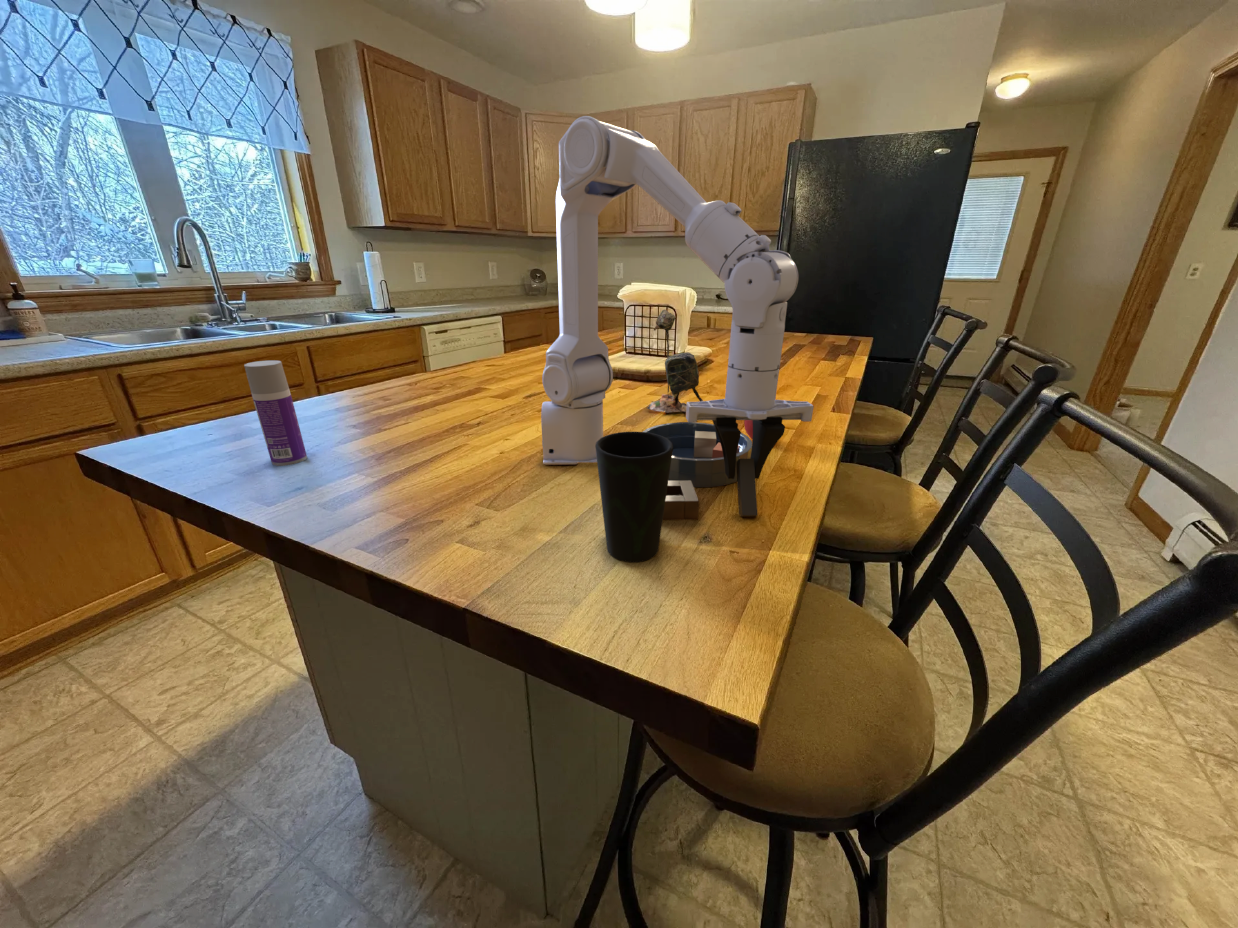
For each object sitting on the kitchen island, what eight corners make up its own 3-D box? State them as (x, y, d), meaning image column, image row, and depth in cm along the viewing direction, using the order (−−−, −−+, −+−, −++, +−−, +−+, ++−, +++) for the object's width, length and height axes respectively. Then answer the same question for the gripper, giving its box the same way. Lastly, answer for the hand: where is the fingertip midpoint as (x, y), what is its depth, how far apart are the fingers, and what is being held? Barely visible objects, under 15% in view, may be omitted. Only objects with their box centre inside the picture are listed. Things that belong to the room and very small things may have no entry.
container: (314, 457, 77) (289, 361, 71) (284, 468, 73) (256, 367, 68) (294, 452, 79) (269, 359, 73) (264, 463, 75) (235, 364, 69)
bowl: (641, 491, 66) (641, 460, 64) (635, 448, 81) (635, 422, 79) (762, 490, 66) (766, 460, 65) (734, 447, 81) (736, 421, 80)
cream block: (693, 457, 76) (695, 437, 75) (693, 449, 79) (695, 430, 78) (714, 458, 75) (716, 438, 74) (714, 450, 78) (715, 431, 77)
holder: (648, 524, 58) (649, 501, 57) (645, 501, 63) (645, 480, 62) (697, 523, 58) (699, 501, 57) (689, 501, 63) (691, 480, 62)
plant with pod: (691, 419, 95) (698, 312, 88) (640, 411, 101) (642, 309, 93) (707, 409, 102) (715, 309, 94) (658, 401, 107) (662, 306, 100)
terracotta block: (711, 469, 71) (712, 449, 70) (716, 462, 74) (718, 442, 73) (732, 473, 70) (735, 452, 69) (737, 465, 73) (740, 445, 72)
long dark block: (742, 515, 58) (739, 458, 59) (739, 518, 59) (735, 462, 61) (757, 515, 58) (754, 458, 59) (753, 518, 59) (750, 462, 61)
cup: (646, 576, 48) (649, 464, 44) (583, 553, 52) (579, 448, 47) (680, 541, 54) (686, 439, 50) (621, 523, 58) (621, 426, 53)
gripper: (695, 374, 52) (688, 489, 57) (831, 373, 52) (811, 488, 58) (685, 361, 59) (680, 466, 64) (806, 361, 59) (791, 465, 64)
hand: (741, 475), depth 61 cm, fingers closed
